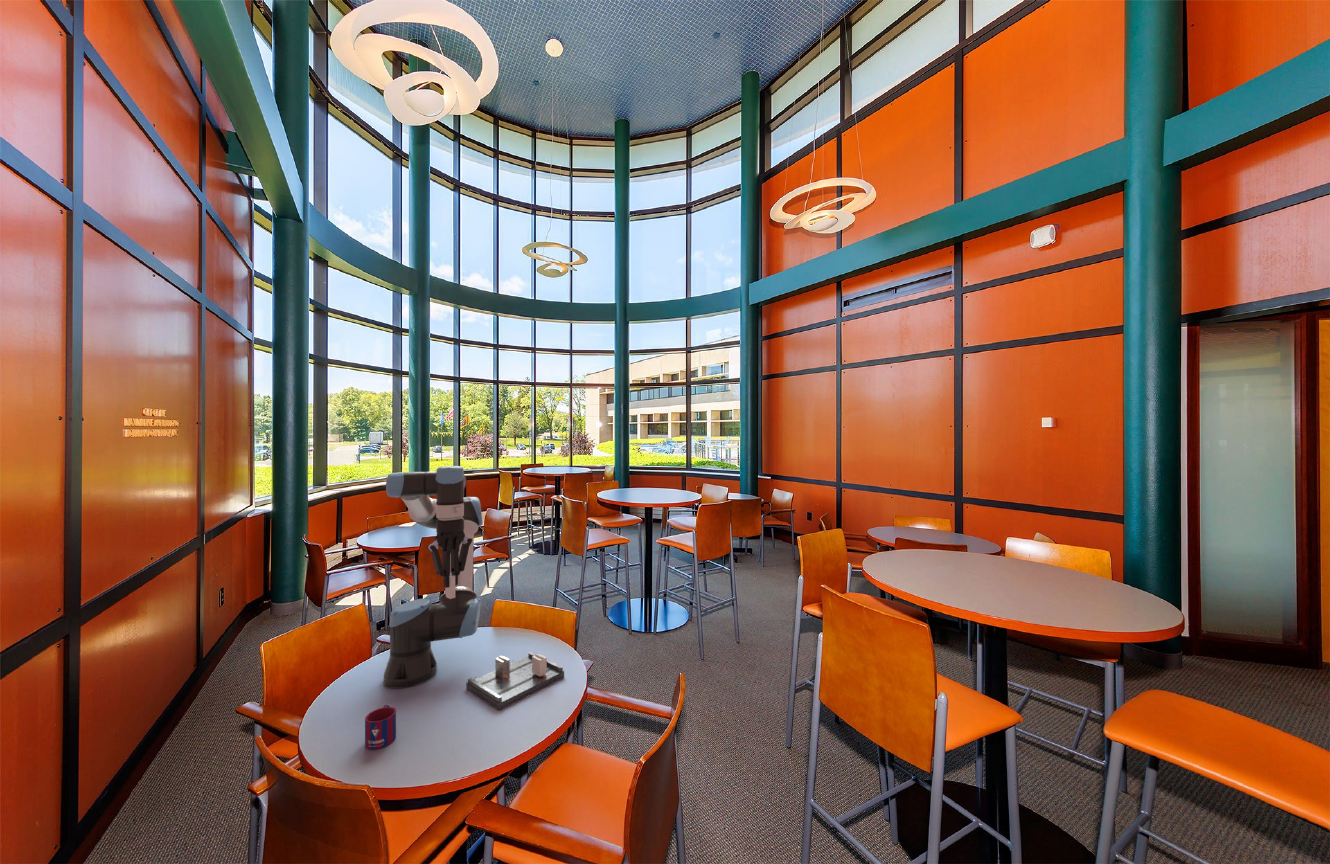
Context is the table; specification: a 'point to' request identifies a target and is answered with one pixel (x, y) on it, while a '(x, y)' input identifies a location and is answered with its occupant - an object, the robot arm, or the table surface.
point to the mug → (380, 728)
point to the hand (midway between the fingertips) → (450, 597)
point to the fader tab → (539, 665)
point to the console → (512, 681)
